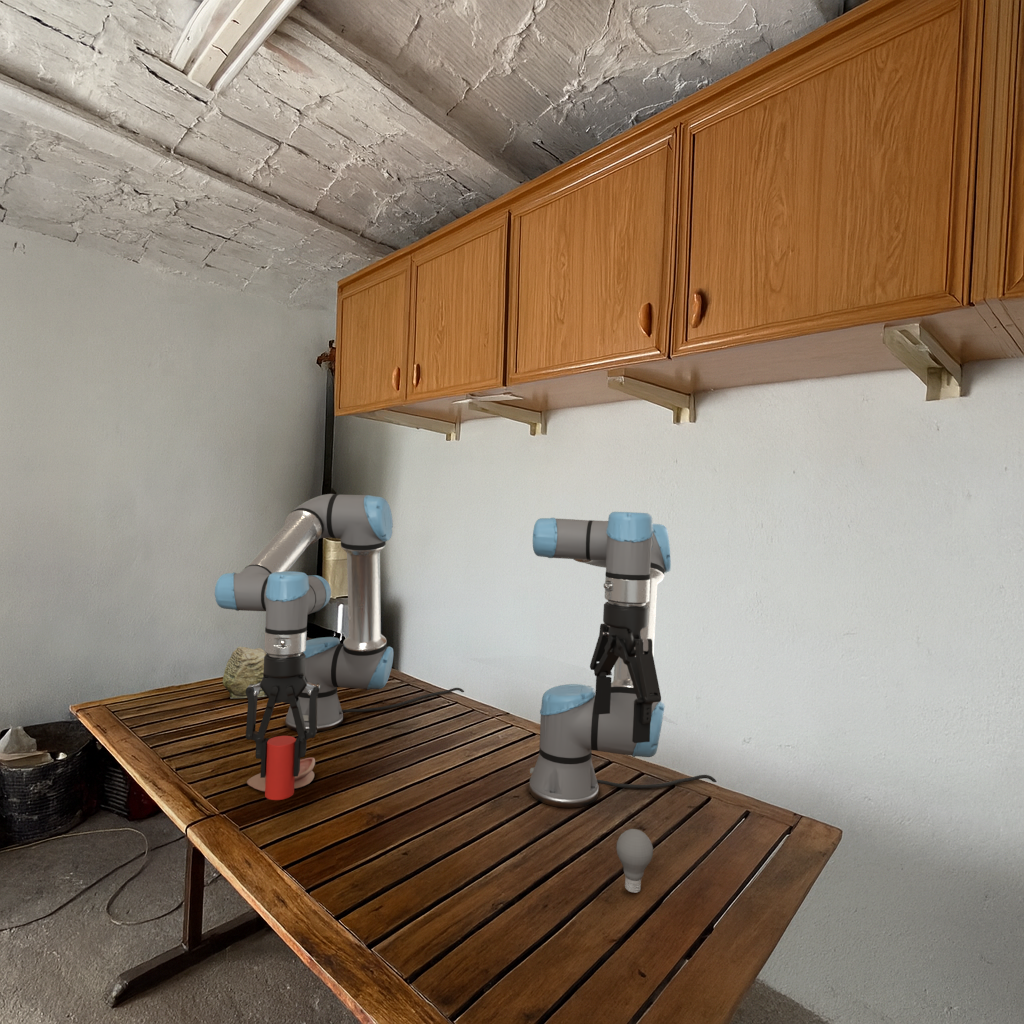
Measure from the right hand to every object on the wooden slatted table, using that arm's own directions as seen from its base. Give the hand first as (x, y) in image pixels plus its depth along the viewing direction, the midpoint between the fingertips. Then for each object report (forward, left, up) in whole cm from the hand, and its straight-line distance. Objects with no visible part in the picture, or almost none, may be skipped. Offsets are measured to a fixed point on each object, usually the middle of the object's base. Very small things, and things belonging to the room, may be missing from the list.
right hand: (620, 726), depth 108 cm
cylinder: (+55, -33, -20) cm, 67 cm away
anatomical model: (+55, -52, -27) cm, 80 cm away
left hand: (+55, -33, -16) cm, 66 cm away
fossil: (+64, -117, -27) cm, 136 cm away
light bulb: (-2, +3, -27) cm, 27 cm away
